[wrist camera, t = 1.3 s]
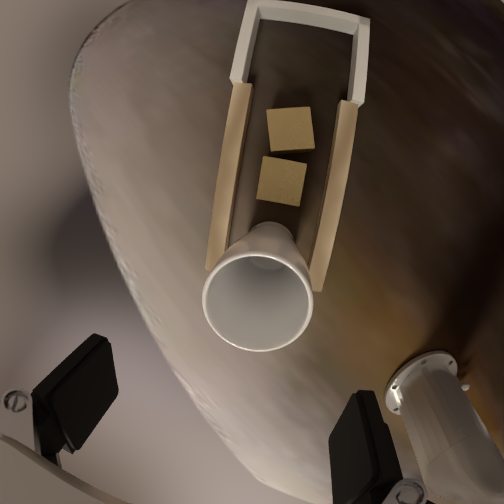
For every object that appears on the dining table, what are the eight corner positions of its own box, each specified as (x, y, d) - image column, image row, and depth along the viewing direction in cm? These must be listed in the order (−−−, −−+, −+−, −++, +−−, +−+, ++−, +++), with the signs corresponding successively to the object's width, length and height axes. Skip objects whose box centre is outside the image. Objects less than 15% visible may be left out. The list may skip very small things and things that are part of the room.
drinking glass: (241, 275, 32) (208, 352, 17) (236, 215, 30) (192, 252, 16) (302, 273, 31) (314, 352, 17) (300, 212, 29) (315, 247, 15)
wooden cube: (303, 165, 28) (306, 163, 24) (297, 202, 29) (299, 206, 25) (266, 158, 28) (263, 155, 24) (259, 195, 29) (256, 198, 26)
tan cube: (306, 115, 27) (309, 106, 23) (310, 152, 28) (314, 148, 24) (268, 118, 27) (266, 109, 23) (272, 154, 28) (270, 151, 24)
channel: (353, 108, 26) (358, 104, 24) (319, 285, 31) (321, 292, 29) (237, 87, 26) (234, 82, 24) (209, 264, 32) (205, 269, 30)
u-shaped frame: (363, 30, 22) (369, 18, 20) (356, 109, 26) (363, 102, 23) (251, 11, 23) (248, -2, 20) (234, 87, 26) (229, 78, 23)
